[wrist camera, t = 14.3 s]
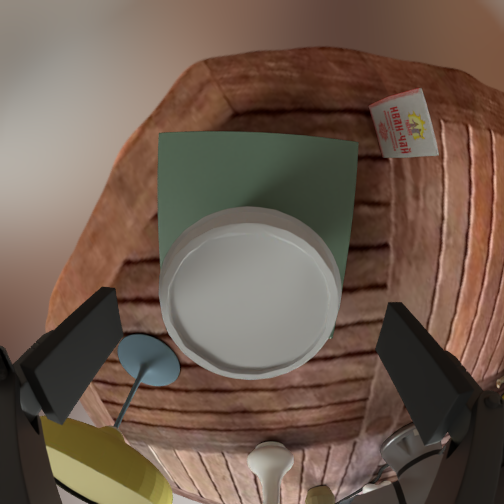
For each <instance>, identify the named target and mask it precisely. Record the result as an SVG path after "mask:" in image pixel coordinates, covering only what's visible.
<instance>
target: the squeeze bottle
mask: <svg viewBox="0 0 504 504" xmlns="http://www.w3.org/2000/svg"><path fill="white" fill-rule="evenodd" d="M305 503H306V504H335V498H334V495H333V493H332V491H331V490H330V488H329V487H327V486H319V487H315V488H312V489H310V490H309V491H308V493H307V496H306V500H305Z"/></svg>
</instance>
